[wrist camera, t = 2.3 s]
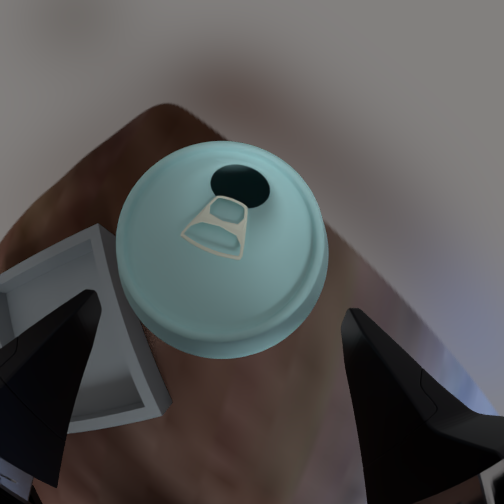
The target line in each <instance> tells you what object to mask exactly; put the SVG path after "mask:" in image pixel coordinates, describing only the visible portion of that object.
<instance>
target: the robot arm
mask: <svg viewBox="0 0 504 504" xmlns="http://www.w3.org/2000/svg"><path fill="white" fill-rule="evenodd" d="M101 313H102V307H101V304H100V301H99V298H98V294H97V292H96V291H95V290H91V289H85V290H83V291H82V292H80V293H79V294H77V295H76V296H74V297H73V298H71V299H70V300H68V301H67V302H65V303H64V304H62V305H61V306H59V307H58V308H57V309H55V310H54V311H52V312H51V313H49V314H48V315H46V316H45V317H44V318H42V319H41V320H39V321H38V322H36V323H35V324H34V325H32V326H31V327H29V328H28V329H27V330H25V331H24V332H23V333H21V334H20V335H19V336H17V337H16V338H14V339H13V340H12V341H10V342H9V343H8V344H6V345H5V346H3V347H2V348H0V504H42V502H41V500H40V498H39V496H38V494H37V492H36V490H35V488H34V486H33V485H32V483H33V479H34V477H35V478H36V479H38V480H40V481H42V482H44V483H46V484H49V485H51V486H53V487H55V488H57V485H58V479H59V472H60V467H61V461H62V456H63V451H64V446H65V441H66V436H67V432H68V428H69V424H70V420H71V416H72V412H73V408H74V405H75V401H76V398H77V394H78V391H79V387H80V384H81V381H82V378H83V374H84V371H85V368H86V365H87V362H88V359H89V356H90V354H91V351H92V347H93V344H94V340H95V336H96V332H97V328H98V324H99V320H100V317H101ZM341 335H342V343H343V353H344V363H345V369H346V374H347V379H348V384H349V389H350V394H351V399H352V404H353V409H354V415H355V420H356V426H357V432H358V438H359V444H360V450H361V457H362V463H363V467H364V468H363V472H364V479H365V487H366V495H367V504H504V417H503V416H492V415H484V414H479V413H476V412H474V411H472V410H471V409H469V408H468V407H467V406H466V405H464V404H463V403H462V402H461V401H459V400H458V399H457V398H456V397H455V396H453V395H452V394H451V393H450V392H449V391H447V390H446V389H445V388H444V387H443V386H442V385H440V384H439V383H438V382H437V381H436V380H435V379H434V378H433V377H432V376H431V375H429V374H428V373H427V372H426V371H425V370H424V369H423V368H422V367H421V366H420V365H419V364H418V363H417V362H416V361H415V360H414V359H413V358H412V357H411V356H410V355H409V354H408V353H407V352H406V351H405V350H404V349H402V348H401V347H400V346H399V345H398V344H397V343H396V342H395V341H394V340H393V339H392V338H391V337H390V336H389V335H388V334H387V333H386V332H385V331H383V330H382V329H381V328H380V327H379V326H378V325H377V324H376V323H375V322H374V321H373V320H372V319H371V318H369V317H368V316H367V315H366V314H365V313H364V312H363V311H362V310H361V309H359V308H349V309H348V310H347V312H346V315H345V317H344V320H343V322H342V325H341Z"/></svg>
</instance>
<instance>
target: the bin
mask: <svg viewBox="0 0 504 504" xmlns="http://www.w3.org/2000/svg"><path fill="white" fill-rule="evenodd" d="M85 289H91V290H95V291H96V292H97V294H98V298H99V301H100V304H101V307H102V313H101V317H100V320H99V324H98V328H97V332H96V336H95V340H94V344H93V347H92V351H91V354H90V356H89V359H88V362H87V365H86V368H85V371H84V374H83V378H82V381H81V384H80V387H79V391H78V394H77V398H76V401H75V405H74V408H73V412H72V416H71V420H70V424H69V428H68V432H67V434H69V433H77V432H84V431H91V430H97V429H103V428H109V427H114V426H119V425H124V424H129V423H134V422H138V421H143V420H147V419H151V418H155V417H159V416H162V415H163V414H164V413H165V412H166V410H167V409H168V408H169V406H170V405H171V404H172V403H173V402H172V400H171V398H170V395H169V393H168V391H167V389H166V386H165V384H164V382H163V380H162V377H161V375H160V373H159V370H158V368H157V365H156V363H155V360H154V358H153V355H152V353H151V350H150V348H149V345H148V342H147V340H146V337H145V334H144V331H143V329H142V326H141V323H140V320H139V318H138V317H137V315H136V314H135V312H134V311H133V309H132V307H131V306H130V304H129V302H128V300H127V298H126V296H125V293H124V291H123V288H122V285H121V281H120V277H119V271H118V263H117V256H116V237H115V236H114V235H113V234H112V233H110V232H109V231H108V230H106V229H105V228H104V227H102V226H101V225H100V224H99V223H97V224H95V225H93V226H91V227H89V228H87V229H85V230H82V231H80V232H78V233H76V234H74V235H72V236H70V237H68V238H66V239H64V240H62V241H60V242H58V243H56V244H54V245H52V246H50V247H48V248H46V249H45V250H43V251H41V252H39V253H37V254H35V255H33V256H32V257H30V258H28V259H26V260H24V261H23V262H21V263H19V264H17V265H15V266H14V267H12V268H10V269H9V270H7V271H5V272H3V273H2V274H0V348H2V347H3V346H5V345H6V344H8V343H9V342H10V341H12V340H13V339H14V338H16V337H17V336H19V335H20V334H21V333H23V332H24V331H25V330H27V329H28V328H29V327H31V326H32V325H34V324H35V323H36V322H38V321H39V320H41V319H42V318H44V317H45V316H46V315H48V314H49V313H51V312H52V311H54V310H55V309H57V308H58V307H59V306H61V305H62V304H64V303H65V302H67V301H68V300H70V299H71V298H73V297H74V296H76V295H77V294H79V293H80V292H82V291H83V290H85Z"/></svg>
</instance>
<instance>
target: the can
mask: <svg viewBox="0 0 504 504" xmlns="http://www.w3.org/2000/svg"><path fill="white" fill-rule="evenodd" d="M116 256H117V263H118V271H119V277H120V281H121V285H122V288H123V291H124V293H125V296H126V298H127V300H128V302H129V304H130V306H131V307H132V309H133V311H134V312H135V314H136V315H137V317H138V318H139V319H140V320H141V322H142V323H143V324H144V325H145V326H146V327H147V328H148V329H149V330H150V331H151V332H152V333H153V334H155V335H156V336H157V337H158V338H159V339H161V340H162V341H164V342H165V343H167V344H169V345H171V346H172V347H174V348H176V349H178V350H181V351H183V352H186V353H189V354H192V355H196V356H200V357H206V358H215V359H229V358H238V357H244V356H248V355H252V354H255V353H258V352H261V351H263V350H266V349H268V348H270V347H272V346H274V345H276V344H277V343H279V342H280V341H282V340H283V339H285V338H286V337H287V336H289V335H290V334H291V333H292V332H294V331H295V330H296V329H297V328H298V327H299V326H300V325H301V324H302V322H303V321H304V320H305V319H306V318H307V316H308V315H309V314H310V312H311V311H312V309H313V308H314V306H315V304H316V302H317V300H318V298H319V296H320V293H321V291H322V288H323V285H324V282H325V278H326V273H327V267H328V240H327V234H326V230H325V226H324V223H323V219H322V215H321V212H320V209H319V206H318V203H317V201H316V199H315V197H314V195H313V193H312V191H311V190H310V188H309V187H308V185H307V184H306V183H305V181H304V180H303V179H302V177H301V176H300V175H299V174H298V173H297V172H296V171H295V170H294V169H293V168H292V167H291V166H290V165H289V164H287V163H286V162H285V161H283V160H282V159H281V158H279V157H277V156H276V155H274V154H272V153H270V152H268V151H266V150H264V149H261V148H259V147H256V146H253V145H250V144H245V143H240V142H233V141H210V142H203V143H199V144H194V145H191V146H188V147H185V148H182V149H180V150H177V151H175V152H173V153H171V154H169V155H168V156H166V157H164V158H163V159H161V160H160V161H158V162H157V163H156V164H154V165H153V166H152V167H151V168H150V169H149V170H148V171H147V172H145V173H144V175H143V176H142V177H141V178H140V179H139V180H138V182H137V183H136V184H135V186H134V187H133V188H132V190H131V192H130V193H129V195H128V197H127V199H126V201H125V203H124V205H123V208H122V210H121V213H120V217H119V220H118V225H117V231H116Z"/></svg>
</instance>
